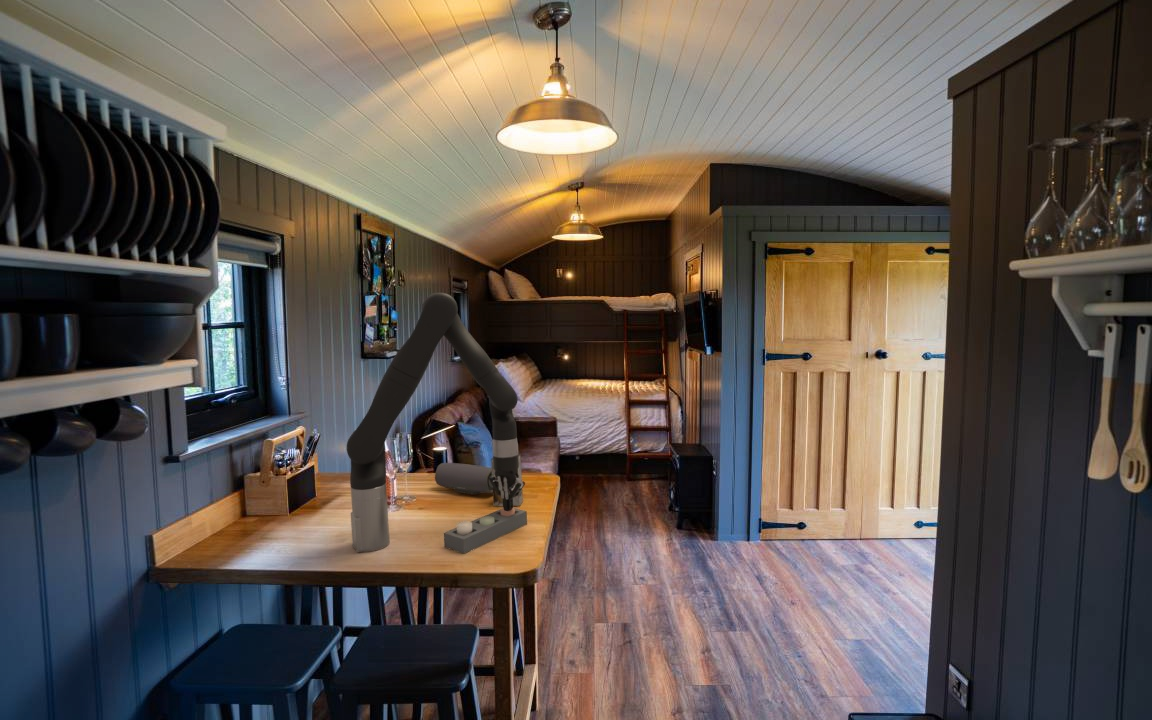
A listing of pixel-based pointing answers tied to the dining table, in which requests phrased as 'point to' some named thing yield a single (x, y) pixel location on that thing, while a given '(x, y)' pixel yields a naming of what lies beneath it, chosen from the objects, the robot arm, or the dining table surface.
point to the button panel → (485, 531)
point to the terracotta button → (507, 512)
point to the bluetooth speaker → (464, 478)
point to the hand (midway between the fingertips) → (508, 510)
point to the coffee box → (516, 500)
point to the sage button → (487, 520)
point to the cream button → (464, 528)
